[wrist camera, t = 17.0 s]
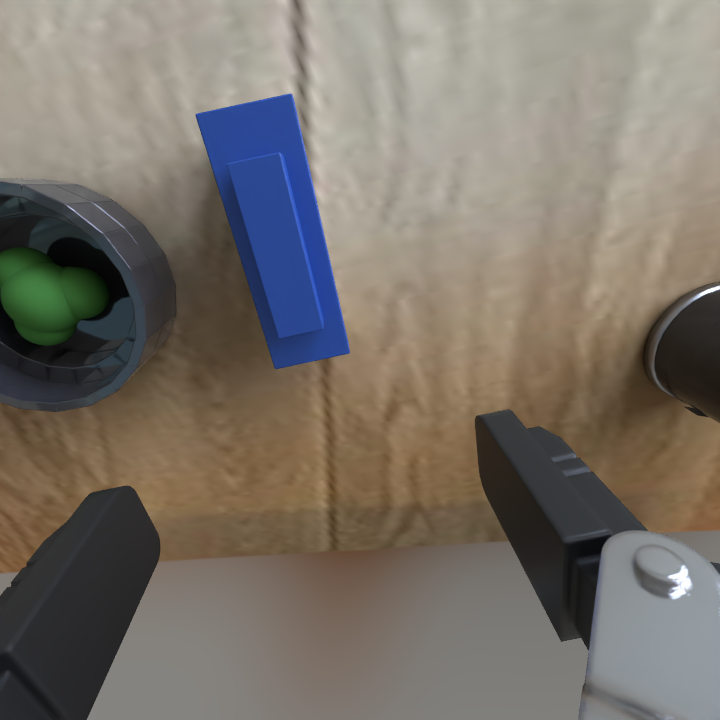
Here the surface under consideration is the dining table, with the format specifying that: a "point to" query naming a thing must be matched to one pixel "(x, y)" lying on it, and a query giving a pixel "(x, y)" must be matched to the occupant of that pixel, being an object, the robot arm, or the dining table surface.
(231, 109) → the brush
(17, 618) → the robot arm
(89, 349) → the bowl
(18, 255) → the broccoli floret
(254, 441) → the dining table surface
